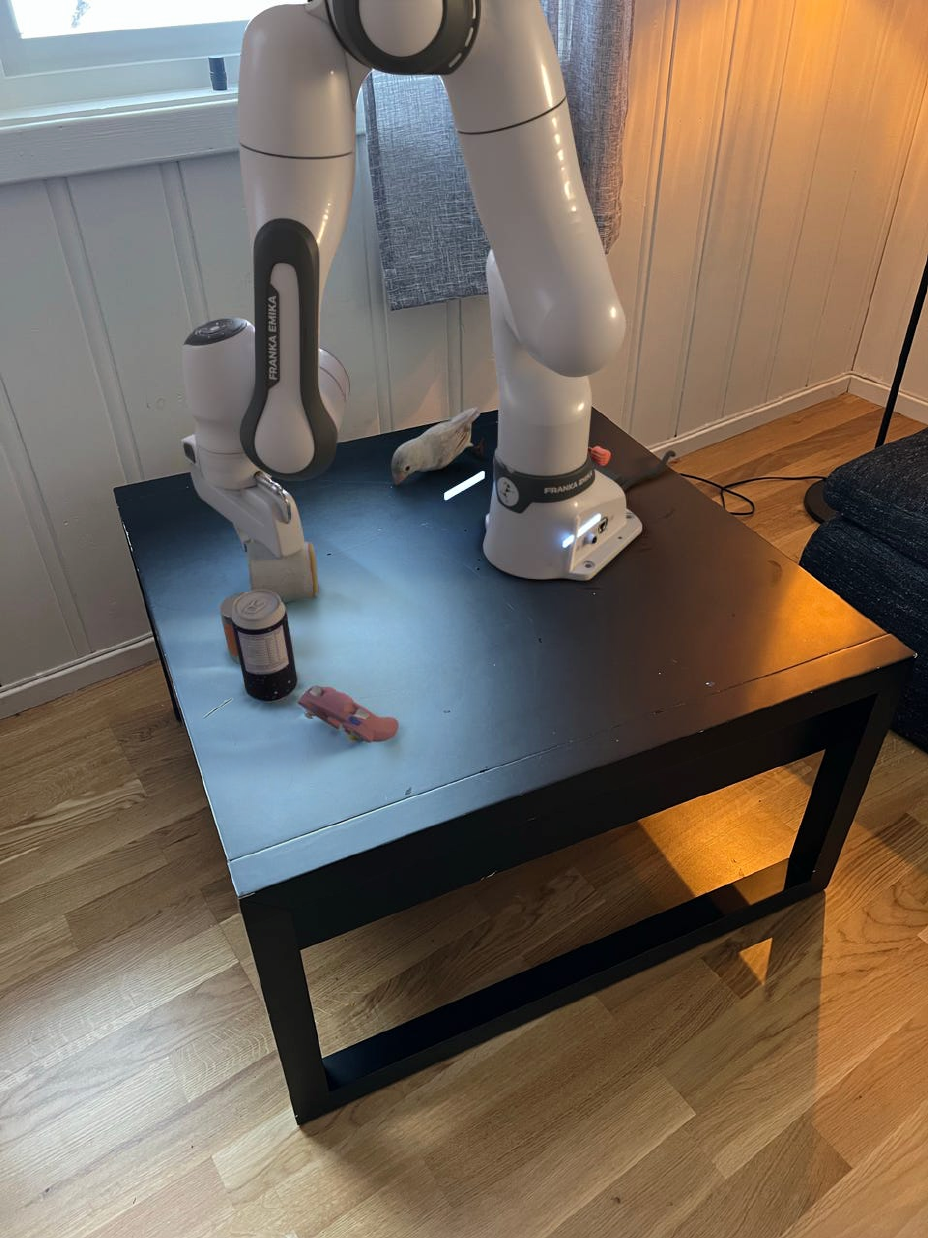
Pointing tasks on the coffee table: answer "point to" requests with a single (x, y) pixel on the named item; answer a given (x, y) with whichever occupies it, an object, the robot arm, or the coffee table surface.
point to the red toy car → (347, 715)
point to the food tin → (229, 626)
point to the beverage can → (264, 645)
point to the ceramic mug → (283, 572)
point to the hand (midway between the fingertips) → (255, 553)
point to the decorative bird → (435, 446)
